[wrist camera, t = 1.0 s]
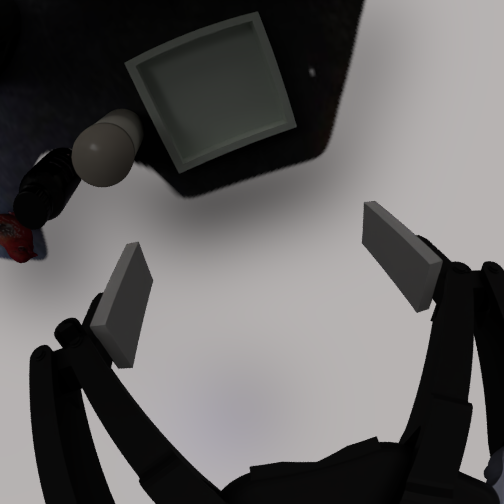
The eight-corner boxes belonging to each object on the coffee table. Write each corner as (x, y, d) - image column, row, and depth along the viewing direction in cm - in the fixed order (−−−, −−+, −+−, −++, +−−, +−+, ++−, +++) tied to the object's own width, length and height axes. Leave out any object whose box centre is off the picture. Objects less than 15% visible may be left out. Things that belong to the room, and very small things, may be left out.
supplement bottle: (67, 199, 35) (38, 248, 26) (36, 171, 31) (-3, 214, 22) (93, 166, 34) (65, 209, 24) (60, 136, 30) (20, 170, 20)
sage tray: (129, 62, 27) (124, 63, 24) (252, 15, 26) (257, 11, 24) (179, 165, 37) (179, 173, 35) (289, 121, 36) (296, 127, 34)
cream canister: (88, 124, 30) (60, 146, 23) (132, 98, 30) (114, 111, 22) (111, 165, 34) (92, 197, 27) (154, 142, 34) (145, 168, 27)
